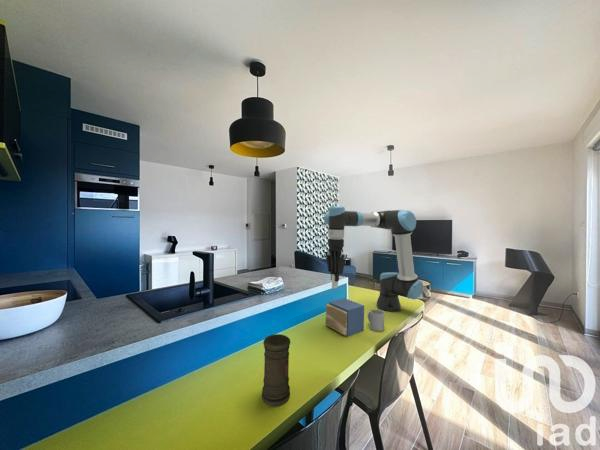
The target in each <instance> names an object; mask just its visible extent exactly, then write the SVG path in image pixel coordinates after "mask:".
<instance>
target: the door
mask: <svg viewBox="0 0 600 450" xmlns="http://www.w3.org/2000/svg"><path fill="white" fill-rule="evenodd" d="M325 311H326V312H325V326H327V327H329V328H331V329H332V330H334V331H336V332H337V333H340V334H341V335H343V336H345V335H347V312H345V311H343V310H341V309H338V308H336V307H334V306H332V305H329V303H327V304H325Z"/></svg>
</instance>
